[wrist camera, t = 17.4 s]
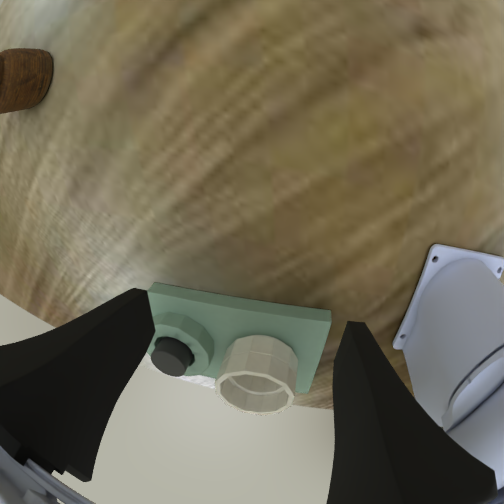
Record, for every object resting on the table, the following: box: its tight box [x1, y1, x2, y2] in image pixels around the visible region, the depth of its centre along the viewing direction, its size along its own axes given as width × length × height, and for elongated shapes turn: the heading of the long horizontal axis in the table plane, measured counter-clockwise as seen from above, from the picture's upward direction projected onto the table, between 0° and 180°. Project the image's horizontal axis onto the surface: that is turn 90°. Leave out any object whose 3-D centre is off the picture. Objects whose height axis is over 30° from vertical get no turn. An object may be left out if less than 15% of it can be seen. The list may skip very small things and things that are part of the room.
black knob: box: [151, 337, 192, 377], centre depth 20 cm, size 3×3×2 cm
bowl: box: [215, 335, 298, 415], centre depth 19 cm, size 6×6×4 cm
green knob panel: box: [147, 282, 332, 393], centre depth 21 cm, size 14×9×3 cm, turn 87°
